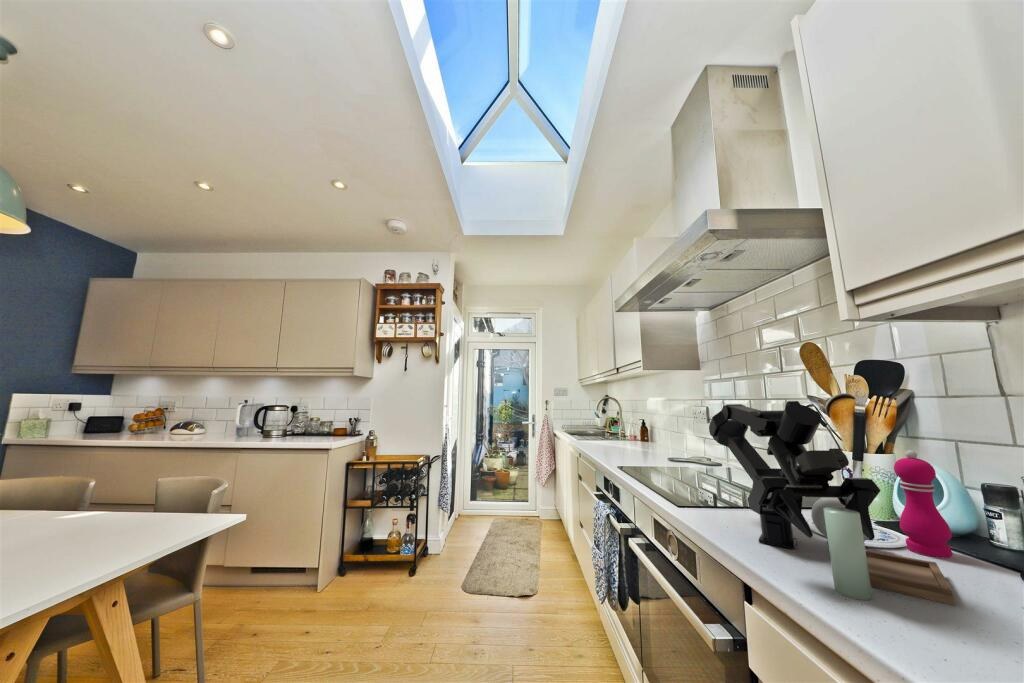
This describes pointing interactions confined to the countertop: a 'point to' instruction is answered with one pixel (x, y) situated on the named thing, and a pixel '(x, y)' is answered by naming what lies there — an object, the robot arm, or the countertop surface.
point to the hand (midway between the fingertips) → (841, 537)
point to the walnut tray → (908, 576)
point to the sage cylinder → (847, 553)
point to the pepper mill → (921, 509)
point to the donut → (819, 513)
